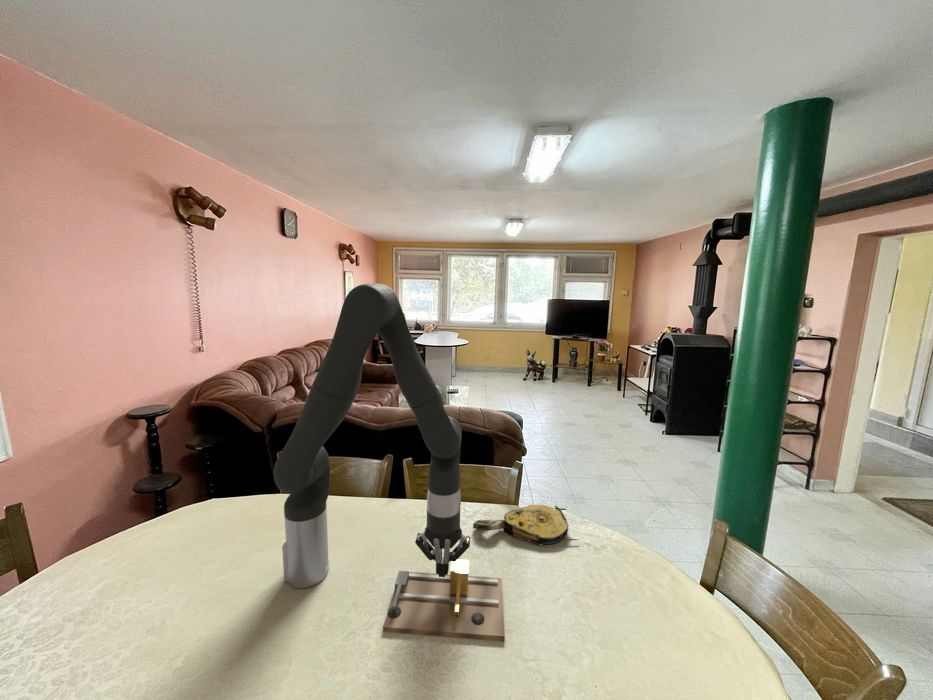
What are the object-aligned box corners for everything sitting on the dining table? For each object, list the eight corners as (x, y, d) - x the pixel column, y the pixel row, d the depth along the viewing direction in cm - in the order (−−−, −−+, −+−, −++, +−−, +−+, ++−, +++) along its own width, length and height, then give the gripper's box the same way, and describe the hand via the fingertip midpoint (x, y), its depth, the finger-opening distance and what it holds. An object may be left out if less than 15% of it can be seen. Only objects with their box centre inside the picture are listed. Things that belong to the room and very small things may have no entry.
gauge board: (383, 631, 74) (382, 617, 74) (400, 575, 89) (400, 562, 88) (504, 641, 73) (505, 626, 72) (501, 582, 88) (502, 569, 87)
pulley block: (471, 498, 112) (566, 498, 113) (470, 513, 114) (564, 513, 115) (474, 535, 98) (582, 534, 100) (473, 551, 100) (579, 550, 102)
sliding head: (446, 618, 76) (447, 593, 75) (451, 581, 86) (452, 559, 85) (465, 620, 76) (466, 595, 75) (468, 582, 85) (468, 560, 84)
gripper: (410, 514, 77) (410, 585, 80) (472, 518, 76) (470, 589, 79) (417, 494, 84) (417, 560, 87) (473, 498, 84) (471, 564, 86)
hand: (442, 574), depth 83 cm, fingers closed
